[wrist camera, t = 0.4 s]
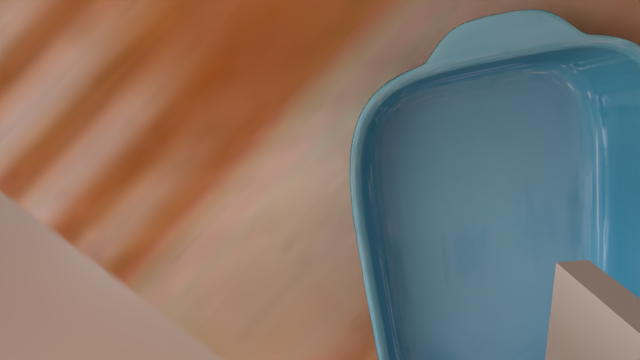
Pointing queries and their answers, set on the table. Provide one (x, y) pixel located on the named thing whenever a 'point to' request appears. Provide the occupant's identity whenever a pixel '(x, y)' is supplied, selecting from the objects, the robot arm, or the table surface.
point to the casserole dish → (495, 185)
